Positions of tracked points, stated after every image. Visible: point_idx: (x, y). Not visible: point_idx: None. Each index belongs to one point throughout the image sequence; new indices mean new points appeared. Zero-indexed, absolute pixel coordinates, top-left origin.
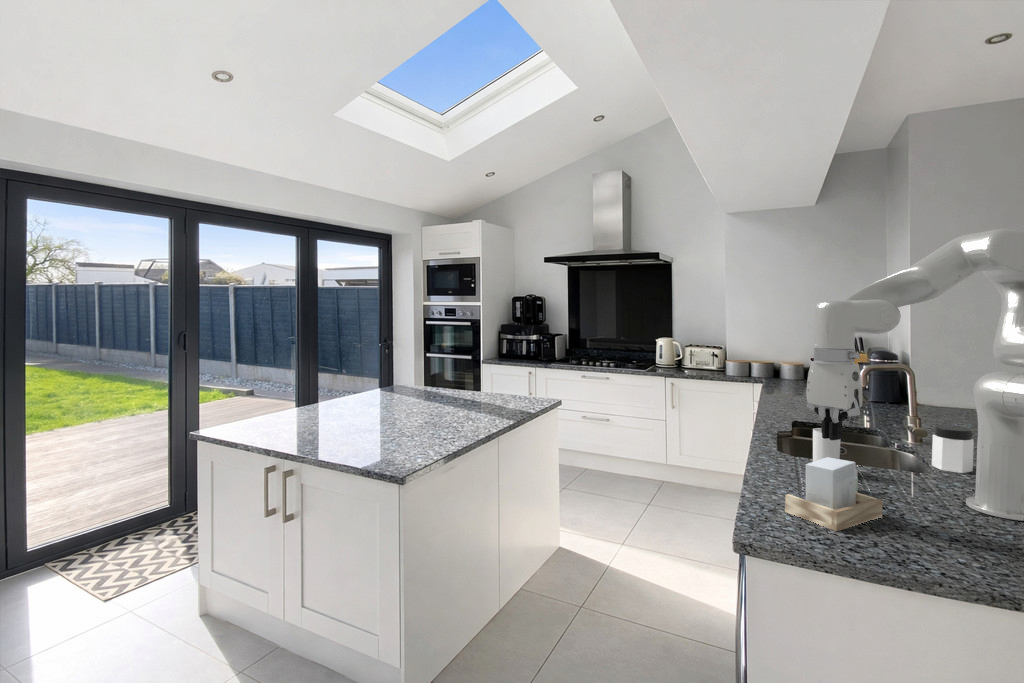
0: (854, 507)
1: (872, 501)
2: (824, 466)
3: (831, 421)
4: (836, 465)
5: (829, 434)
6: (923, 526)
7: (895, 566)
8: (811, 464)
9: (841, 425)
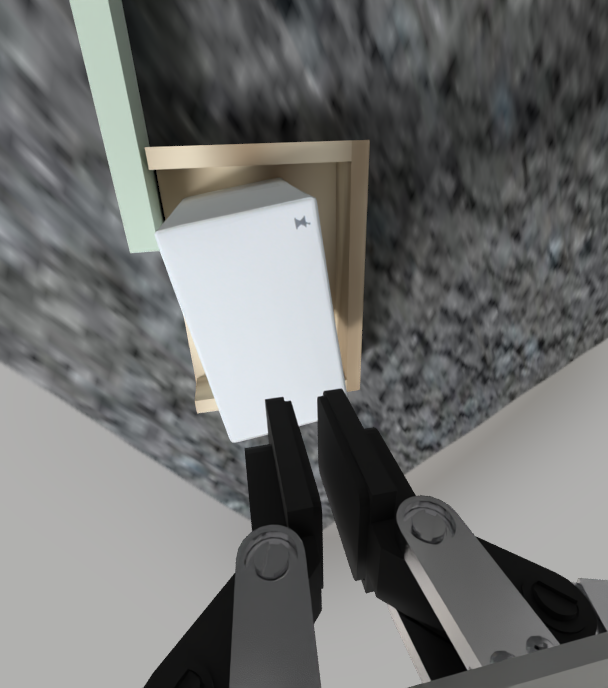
0: (362, 313)
1: (359, 197)
2: (299, 410)
3: (320, 534)
4: (314, 355)
5: (329, 496)
6: (446, 81)
7: (482, 392)
8: (247, 427)
9: (410, 496)
